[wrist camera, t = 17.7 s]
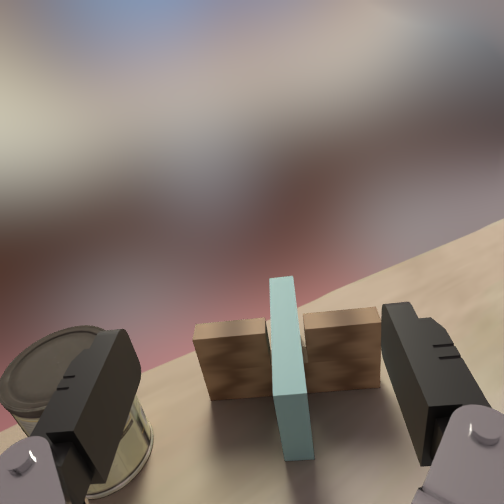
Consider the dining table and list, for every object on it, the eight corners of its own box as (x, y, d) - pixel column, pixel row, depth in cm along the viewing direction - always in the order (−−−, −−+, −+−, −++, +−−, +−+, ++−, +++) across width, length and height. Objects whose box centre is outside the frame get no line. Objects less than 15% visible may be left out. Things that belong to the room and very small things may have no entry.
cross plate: (284, 461, 39) (272, 395, 34) (278, 336, 55) (269, 278, 50) (314, 459, 39) (307, 393, 34) (299, 334, 55) (292, 275, 50)
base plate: (210, 400, 47) (192, 339, 42) (213, 383, 49) (195, 324, 44) (379, 387, 45) (381, 322, 40) (374, 370, 47) (375, 306, 42)
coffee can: (40, 471, 42) (-25, 383, 35) (114, 399, 50) (71, 314, 42) (100, 522, 37) (37, 430, 30) (172, 433, 44) (135, 342, 37)
